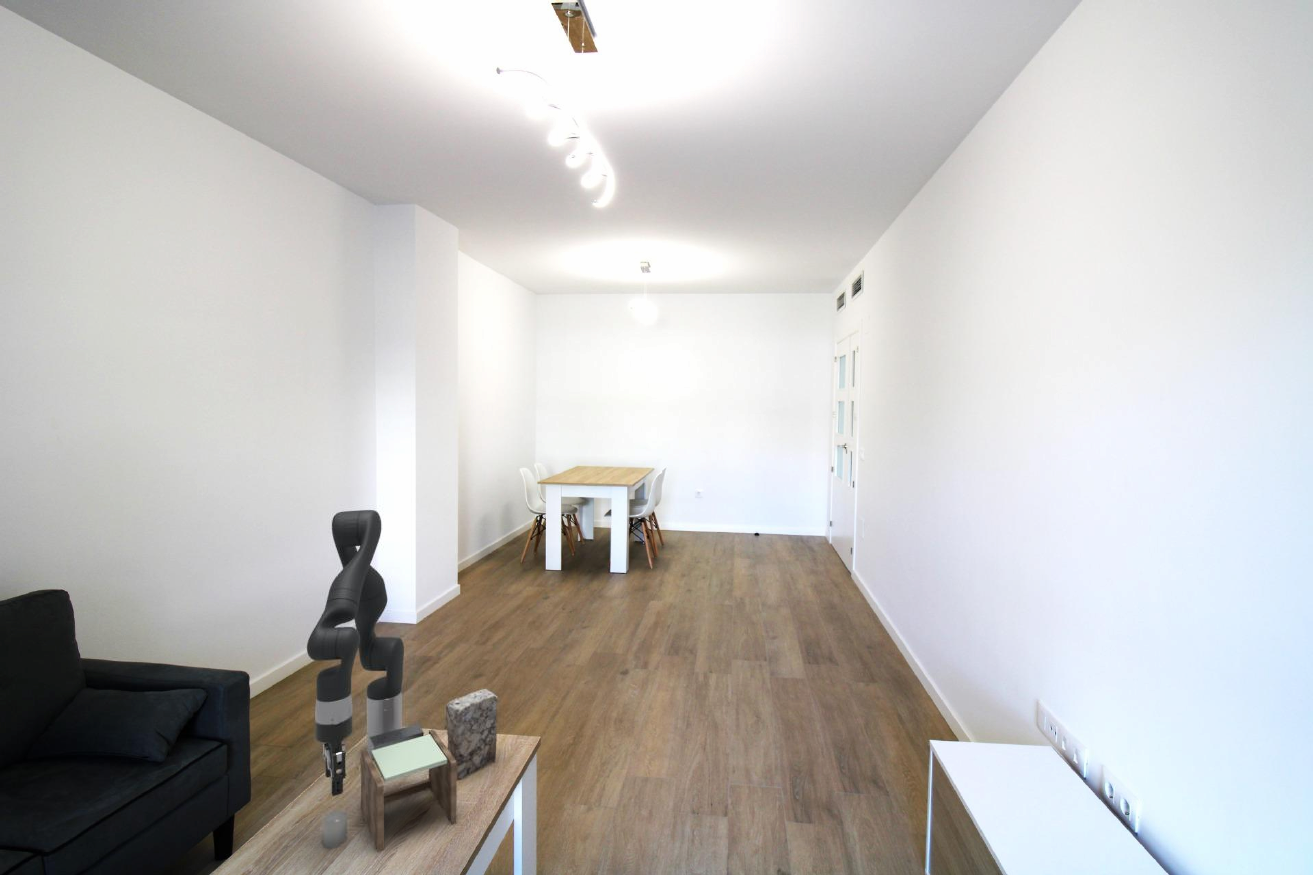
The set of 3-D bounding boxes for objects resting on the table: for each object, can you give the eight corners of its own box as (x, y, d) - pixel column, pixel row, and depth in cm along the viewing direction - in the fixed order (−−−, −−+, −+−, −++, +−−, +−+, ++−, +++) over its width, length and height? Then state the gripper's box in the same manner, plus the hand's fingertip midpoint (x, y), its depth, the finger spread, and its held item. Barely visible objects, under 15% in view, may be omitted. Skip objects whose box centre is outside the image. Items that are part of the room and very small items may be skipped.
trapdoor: (365, 749, 159) (365, 738, 159) (422, 733, 167) (422, 722, 167) (384, 791, 142) (384, 778, 142) (447, 771, 150) (447, 759, 150)
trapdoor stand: (361, 808, 155) (360, 749, 154) (433, 784, 165) (433, 729, 165) (378, 851, 140) (377, 786, 139) (456, 822, 150) (456, 761, 150)
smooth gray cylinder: (321, 838, 144) (320, 815, 144) (344, 830, 147) (344, 807, 147) (324, 851, 140) (324, 827, 140) (349, 842, 143) (348, 819, 143)
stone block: (460, 783, 166) (460, 709, 165) (444, 774, 170) (444, 702, 169) (499, 760, 177) (499, 691, 176) (483, 752, 181) (483, 685, 180)
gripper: (311, 707, 146) (311, 775, 146) (320, 732, 134) (320, 806, 135) (346, 698, 150) (346, 765, 151) (358, 723, 139) (358, 794, 139)
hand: (334, 784), depth 143 cm, fingers open, 8 cm apart
